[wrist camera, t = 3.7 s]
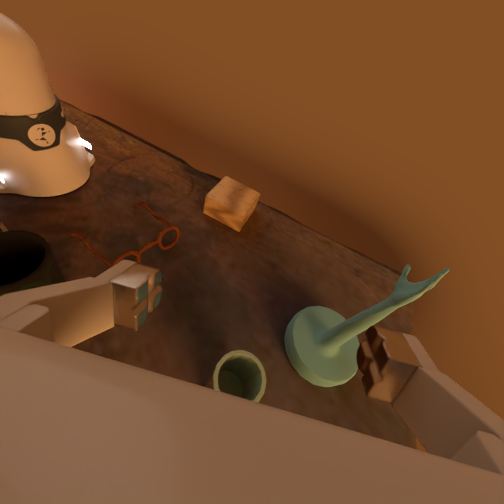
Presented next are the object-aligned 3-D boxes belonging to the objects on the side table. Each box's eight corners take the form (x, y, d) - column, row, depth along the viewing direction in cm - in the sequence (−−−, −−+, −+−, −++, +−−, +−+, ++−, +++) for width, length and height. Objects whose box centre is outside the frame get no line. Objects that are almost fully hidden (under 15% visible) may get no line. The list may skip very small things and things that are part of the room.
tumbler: (194, 394, 33) (201, 382, 25) (223, 359, 36) (236, 339, 29) (226, 426, 32) (244, 424, 24) (252, 387, 35) (275, 374, 28)
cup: (14, 340, 31) (-52, 300, 22) (13, 290, 35) (-45, 237, 25) (84, 318, 35) (52, 276, 26) (77, 275, 38) (46, 224, 29)
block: (202, 213, 53) (205, 195, 49) (222, 192, 59) (225, 175, 55) (238, 232, 53) (243, 216, 49) (254, 209, 58) (260, 193, 54)
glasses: (118, 283, 39) (112, 267, 35) (69, 235, 42) (59, 215, 38) (180, 242, 47) (181, 225, 43) (136, 204, 50) (133, 184, 46)
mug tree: (361, 352, 43) (514, 286, 24) (324, 407, 36) (499, 378, 17) (309, 300, 47) (406, 207, 28) (267, 341, 40) (357, 255, 21)
